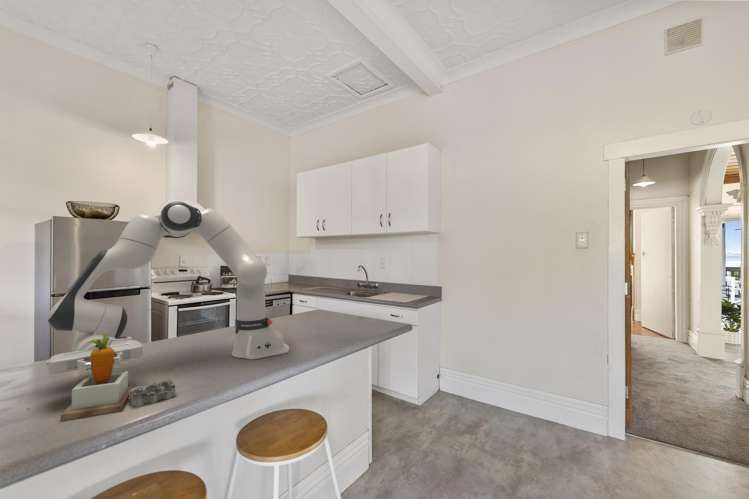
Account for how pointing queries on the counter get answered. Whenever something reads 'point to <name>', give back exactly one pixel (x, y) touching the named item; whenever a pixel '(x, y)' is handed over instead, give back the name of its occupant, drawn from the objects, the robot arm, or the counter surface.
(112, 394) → the square open planter
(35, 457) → the counter surface
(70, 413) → the walnut board
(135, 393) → the egg carton
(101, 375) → the carrot
